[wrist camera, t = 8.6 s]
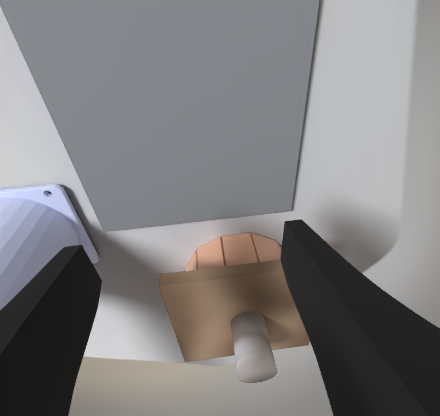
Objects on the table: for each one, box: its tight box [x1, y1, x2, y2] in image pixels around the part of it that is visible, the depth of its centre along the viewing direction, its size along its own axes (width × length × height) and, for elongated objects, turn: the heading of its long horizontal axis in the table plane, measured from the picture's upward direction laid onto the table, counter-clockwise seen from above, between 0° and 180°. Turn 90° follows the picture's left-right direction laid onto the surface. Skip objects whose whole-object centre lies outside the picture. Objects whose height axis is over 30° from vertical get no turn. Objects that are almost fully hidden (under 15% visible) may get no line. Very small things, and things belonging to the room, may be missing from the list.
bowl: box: [185, 233, 282, 271], centre depth 24 cm, size 10×10×4 cm
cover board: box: [159, 260, 310, 383], centre depth 21 cm, size 12×12×5 cm
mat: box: [0, 0, 320, 232], centre depth 17 cm, size 15×15×1 cm
